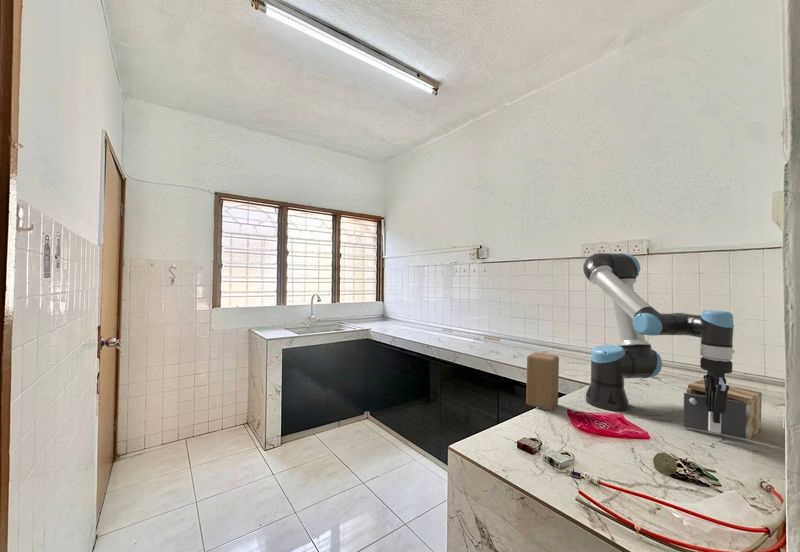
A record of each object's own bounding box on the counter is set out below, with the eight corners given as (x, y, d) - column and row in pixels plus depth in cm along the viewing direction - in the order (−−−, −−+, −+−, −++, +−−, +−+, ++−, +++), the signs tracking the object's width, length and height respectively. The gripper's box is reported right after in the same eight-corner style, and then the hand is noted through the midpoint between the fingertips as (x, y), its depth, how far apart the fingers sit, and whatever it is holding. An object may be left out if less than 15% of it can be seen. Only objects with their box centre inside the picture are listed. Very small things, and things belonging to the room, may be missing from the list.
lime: (679, 479, 85) (679, 459, 85) (656, 474, 87) (657, 455, 87) (672, 469, 90) (672, 451, 90) (651, 465, 91) (651, 447, 91)
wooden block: (533, 398, 141) (534, 351, 141) (558, 404, 135) (559, 355, 135) (525, 405, 133) (526, 355, 133) (551, 411, 127) (552, 359, 127)
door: (751, 441, 105) (752, 405, 105) (684, 428, 113) (685, 395, 113) (748, 438, 107) (749, 402, 107) (683, 425, 116) (683, 392, 116)
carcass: (747, 439, 108) (748, 399, 108) (686, 420, 122) (686, 385, 122) (760, 430, 115) (761, 392, 115) (701, 413, 129) (702, 379, 129)
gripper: (741, 364, 100) (739, 443, 100) (723, 356, 112) (721, 426, 111) (708, 360, 103) (706, 437, 103) (694, 353, 115) (692, 421, 115)
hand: (714, 431), depth 107 cm, fingers closed
